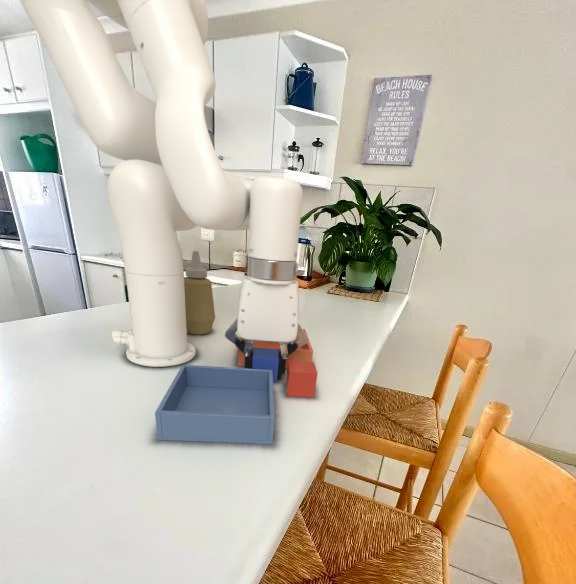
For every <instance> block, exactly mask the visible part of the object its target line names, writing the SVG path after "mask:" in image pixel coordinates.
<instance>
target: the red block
mask: <svg viewBox="0 0 576 584" xmlns="http://www.w3.org/2000/svg"><path fill="white" fill-rule="evenodd" d="M285 374H286V375H285V391H286V392H285V393H286V397H290V398H291V397H292V398H293V397H295V398H311V399H312V398H315V393H316V387H317V380H318V370H317V367H316V365H315V362H314V361H312V362H301V361H288V364H287V369H286V373H285Z"/></svg>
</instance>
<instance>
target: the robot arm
mask: <svg viewBox="0 0 576 584" xmlns="http://www.w3.org/2000/svg"><path fill="white" fill-rule="evenodd" d="M19 2H20V4H21V6H22V8H23V10H24V12H25V13H26V15H27V17H28V19H29V20H30V22H31V24H32V25H33V27H34V29H35V31H36V33H37V35H38V36H39V38H40V40H41V42H42V43H43V45H44V47H45V49H46V51H47V53H48V55H49V58H50V59H51V61H52V64H53V66H54V68H55V70H56V72H57V75H58V76H59V79H60V81H61V83H62V85H63V87H64V90H65V91H66V93H67V95H68V97H69V99H70V101H71V104H72V105H73V108H74V109H75V111H76V114H77V116H78V118H79V120H80V122H81V124H82V127H83V128H84V130H85V132H86V134H87V136H88V137H89V139H90V140H91V142H92V144H93V145H94V146H95V147H96V148H97V149H98V150H99V151H101V152H103V153H104V154H106V155H108V156H110V157H113V158H115V159H118V160H120V162H119V163H118V164H116V165H115V166H114V167H113V169H112V170H111V171H110V173H109V176H108V179H107V189H106V190H107V197H108V203H109V206H110V209H111V212H112V216H113V219H114V222H115V225H116V229H117V232H118V236H119V237H118V238H119V241H120V247H121V253H122V260H123V268H124V274H125V279H126V280H125V282H126V290H127V297H128V305H129V313H130V320H131V321H130V322H131V328H132V329H130V330H129V331H124V330H115V329H113V330H112V331H111V335H110V336H111V339H112V342H113V344H115V345H126V346H127V348H126V350H125V355H126V358H127V360H128V361H130V362H132V363H133V364H136V365H139V366H143V367H144V366H145V367H151V368H163V367H174V366H178V365H183V364H185V363H188V362H189V361H191V360H192V359H194V358H195V356H196V355H197V354H196V352H197V350H196V347H195V346H194V344H192V343H190V342H189V341H188V332H187V329H186V308H185V287H184V278H185V272H184V258H183V253H182V249H181V245H180V241H179V240H178V236H177V234H176V232H180V231H181V232H182V231H183V232H185V231H190V230H193V229H195V228H196V227H200V228H203V229H205V230H211V231H234V232H235V231H236V232H237V231H248V242H247V243H248V244H247V245H248V246H247V270H246V271H247V272H246V273H247V275H243V276H242V278H241V284H240V290H239V297H238V307H237V317H236V319H235V320H234V321H233V322H232V323H231V325H230V326H229V327H228V328H227V330H225V333H224V338H226V339H227V340H228V341H230V342H231V343H232V344H234V346H235V347H237V349H238V348H239V349H240V350H241V351H242V353H243V355H244V356H245V366H244V368H246V369H252V360H253V352H252V347H253V344H254V341H265V342H279V344H280V351H279V354H278V355H279V364H278V376H277V380H281V379H282V374H286V369H285V365H286V359H287V358H288V356H289V355H290V354H292V353H293V352H294V351H295V350H297V348H299V347H301V346H303V345H304V344H306V343H308V339H309V337H308V338H307V336H308V335H307V336H306V335H305V333H304V331H303V330H302V329H303V328H302V326H301V325H300V322H299V317H300V315H299V314H300V289H299V288H300V287H299V281H298V280H296V277H298V276H300V275H302V276H304V275H305V271H306V266H305V265H301V264H299V263H298V262H297V258H298V248H299V239H300V227H301V219H302V207H303V198H304V197H303V196H304V194H303V193H304V192H303V188H302V185H301V184H300V183H299V182H297V181H296V180H293V179H289V178H285V177H277V176H260V177H257V178H255V179H253V180H252V179H248V178H244V177H241V176H238V175H236V174H234V173H231V172H229V171H227V170H224V169H223V168H222V166H221V164H220V163H221V162H220V161H219V158H218V156H217V152H216V150H215V148H214V145H213V142H212V139H211V136H210V132H209V130H208V126H207V121H206V116H205V106H207V105H208V104H209V102H210V101H211V100H212V99H213V97H214V95H215V91H216V87H217V86H216V83H217V82H216V81H217V80H216V77H215V74H214V70H213V68H212V65H211V62H210V60H209V59H210V58H209V57H208V53H207V50H206V48H205V45H206V43H207V39H208V35H209V15H208V8H207V5H206V2H205V0H19ZM90 5H91V6H92V7H94V8H95V9H97V10H98V11H99V12H100V13H102V15H105V16H106V17H107V18H109V19H110V20H111V21H113V22H114V23H116V24H118V25H119V26H120V27H123V28H125V29H126V30H128V32H129V34H130V37H131V39H132V42H133V44H134V46H135V49H136V52H137V54H138V56H139V59H140V61H141V64H142V67H143V69H144V71H145V75H146V77H147V80H148V82H149V85H150V87H151V90H152V92H153V95H154V98H155V100H153V99H151V98H149V97H148V96H146V95H145V94H143V93H141V92H139V91H138V89H136V88H135V87H134V86H133V85H132V84H131V82H130V80H129V79H128V77H127V74H125V71H124V69H123V67H122V65H121V63H120V60H119V59H118V57H117V54H116V51H115V49H114V47H113V44H112V42H111V39H110V38H109V36H108V34H107V32H106V31H105V28H104V27H103V25H102V24H101V22H100V20H99V19H98V17H97V16H96V14H95V13H94V11H93V10H92V8H91V6H90ZM121 160H122V161H121ZM236 333H237V334H236ZM297 336H298V338H297V339H296V337H297ZM243 339H245V340H246V342H245V341H244V340H243ZM289 342H290V343H289ZM287 343H289V344H288V345H287Z"/></svg>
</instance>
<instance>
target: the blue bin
mask: <svg viewBox="0 0 576 584" xmlns="http://www.w3.org/2000/svg"><path fill="white" fill-rule="evenodd" d="M274 393H275V392H274V382H273V371H272V370H263V369H246V368H245V367H227V366H212V365H211V366H210V365H209V366H208V365H195V364H181V366H180V368H179V370H178V371H177V373H176V375H175V377H174V378H173V380H172V382H171V383H170V385H169V387H168V389H167V390H166V393H165V394H164V396H163V398H162V399H161V401H160V402H159V404H158V407H157V408H156V410H155V411H154V418H155V425H156V426H155V427H156V435H157V441H175V442H176V441H179V442H180V441H182V442H202V443H205V442H206V443H232V444H257V445H259V444H260V445H273V442H274V434H275V433H274V432H275V421H276V415H275V414H276V413H275V412H276V411H275V394H274Z"/></svg>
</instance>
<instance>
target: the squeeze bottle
mask: <svg viewBox="0 0 576 584" xmlns="http://www.w3.org/2000/svg"><path fill="white" fill-rule="evenodd" d="M200 256H201V255H200V253H199V251H198V250H192V253H191V260H190V266H189V267H185V277H184V287H185V308H186V329H187V334H192V335H206V334H209V333H210V332H211V331H212V329H213V325H214V322H215V319H216V314H215V303H214V295H213V293H214V292H213V286H212V280H210V279H209V278H207V277H208V269H207V268H203V265H202V261H201V257H200Z"/></svg>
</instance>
